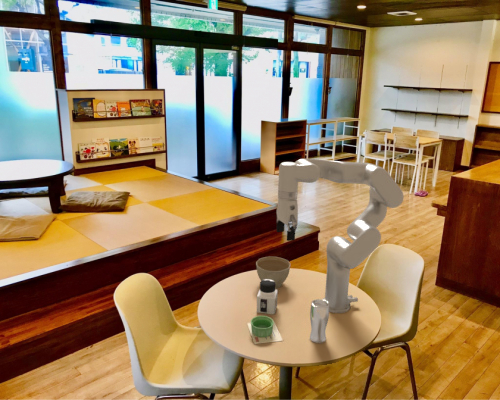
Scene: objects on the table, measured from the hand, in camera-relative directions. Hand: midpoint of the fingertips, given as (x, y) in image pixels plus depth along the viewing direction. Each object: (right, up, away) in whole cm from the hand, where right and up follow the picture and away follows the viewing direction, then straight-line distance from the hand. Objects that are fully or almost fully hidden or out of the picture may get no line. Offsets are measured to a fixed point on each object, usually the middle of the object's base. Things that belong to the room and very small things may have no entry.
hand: (285, 235), depth 167 cm
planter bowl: (-3, -26, +34) cm, 43 cm away
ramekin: (-9, -37, -3) cm, 39 cm away
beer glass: (+12, -39, -7) cm, 41 cm away
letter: (-8, -37, -3) cm, 38 cm away
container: (-7, -33, +13) cm, 36 cm away
